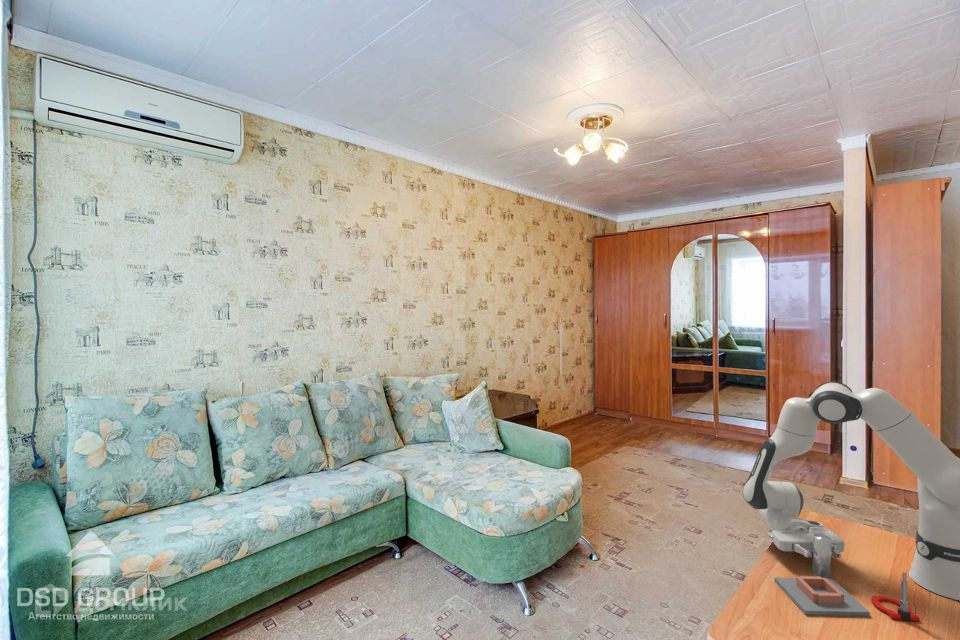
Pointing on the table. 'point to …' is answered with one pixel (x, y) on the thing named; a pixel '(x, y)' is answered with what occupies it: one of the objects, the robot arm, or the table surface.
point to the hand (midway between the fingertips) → (824, 555)
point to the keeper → (820, 596)
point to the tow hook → (904, 610)
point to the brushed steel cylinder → (821, 555)
